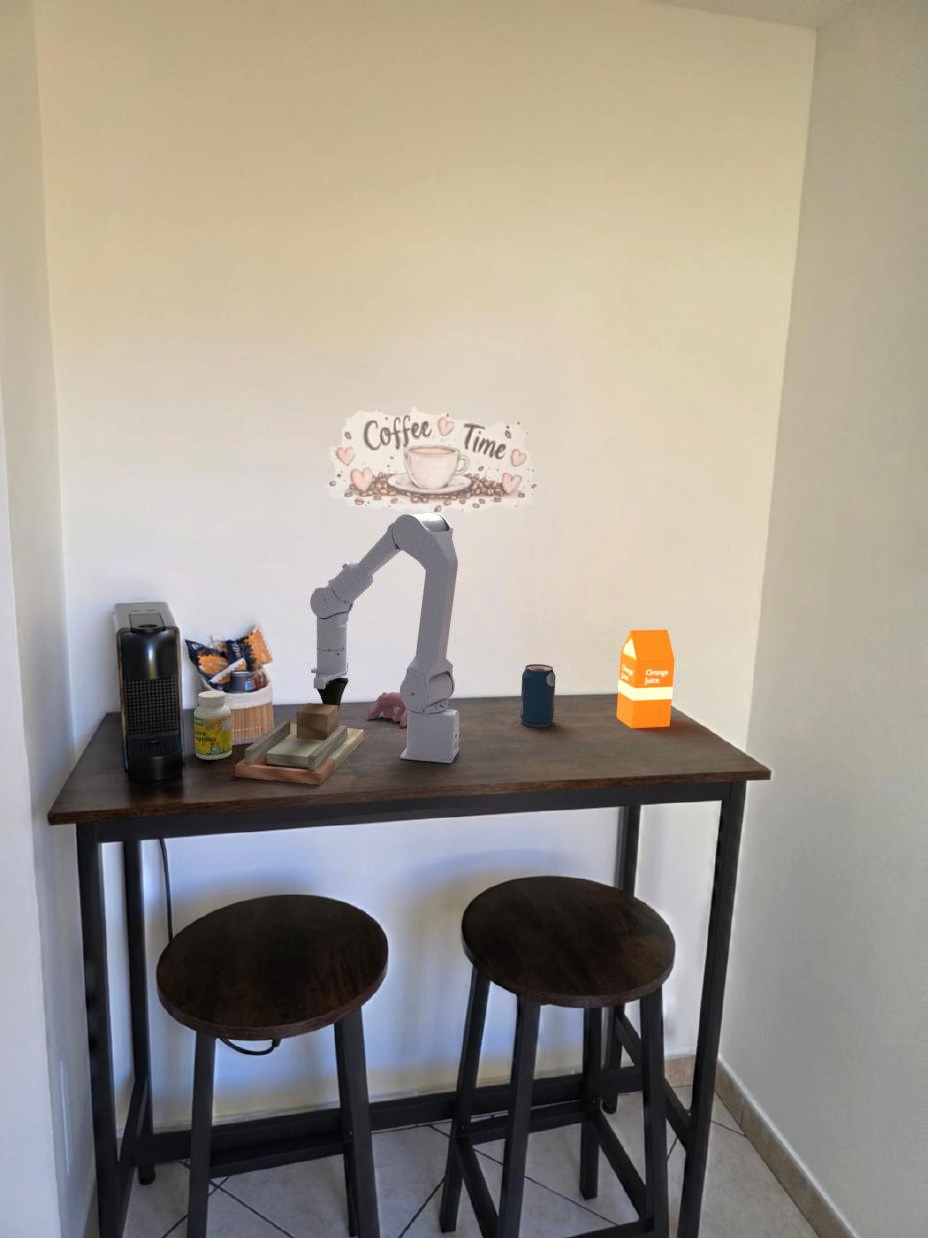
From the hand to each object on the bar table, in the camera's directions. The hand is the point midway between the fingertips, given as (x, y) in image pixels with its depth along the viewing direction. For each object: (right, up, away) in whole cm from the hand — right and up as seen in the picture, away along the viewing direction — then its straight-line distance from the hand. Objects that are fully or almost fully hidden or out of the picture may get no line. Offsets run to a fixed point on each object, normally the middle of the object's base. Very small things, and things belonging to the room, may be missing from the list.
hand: (331, 715), depth 163 cm
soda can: (+41, -3, +11) cm, 43 cm away
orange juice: (+64, -3, +14) cm, 66 cm away
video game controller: (+11, -2, +9) cm, 15 cm away
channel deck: (-3, -6, -14) cm, 15 cm away
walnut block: (-1, -3, -7) cm, 8 cm away
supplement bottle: (-19, -6, -14) cm, 24 cm away
